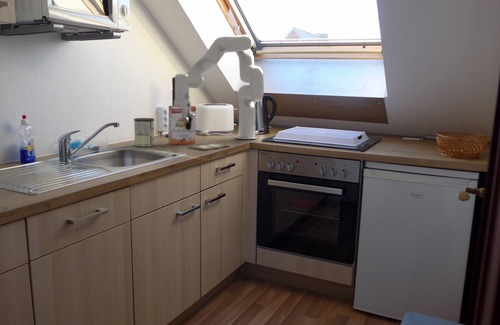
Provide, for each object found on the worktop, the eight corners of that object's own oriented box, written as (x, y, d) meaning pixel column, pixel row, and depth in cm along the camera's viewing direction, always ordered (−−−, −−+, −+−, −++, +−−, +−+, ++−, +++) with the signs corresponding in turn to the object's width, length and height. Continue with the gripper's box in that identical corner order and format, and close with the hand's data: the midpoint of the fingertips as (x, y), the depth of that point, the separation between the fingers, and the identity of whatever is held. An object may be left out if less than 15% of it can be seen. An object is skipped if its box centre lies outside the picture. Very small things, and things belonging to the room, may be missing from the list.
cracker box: (171, 145, 242) (171, 106, 238) (168, 143, 247) (167, 105, 243) (196, 144, 248) (196, 106, 244) (192, 142, 253) (192, 105, 250)
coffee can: (133, 144, 242) (132, 117, 239) (152, 143, 246) (152, 117, 243) (136, 146, 233) (135, 119, 230) (156, 146, 237) (155, 119, 234)
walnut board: (212, 144, 247) (212, 143, 247) (229, 147, 240) (229, 145, 239) (187, 148, 232) (188, 146, 232) (205, 150, 225) (205, 149, 224)
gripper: (198, 97, 241) (198, 129, 244) (176, 96, 251) (176, 127, 254) (188, 98, 235) (188, 130, 238) (165, 96, 245) (166, 128, 248)
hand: (182, 128), depth 246 cm, fingers open, 9 cm apart
